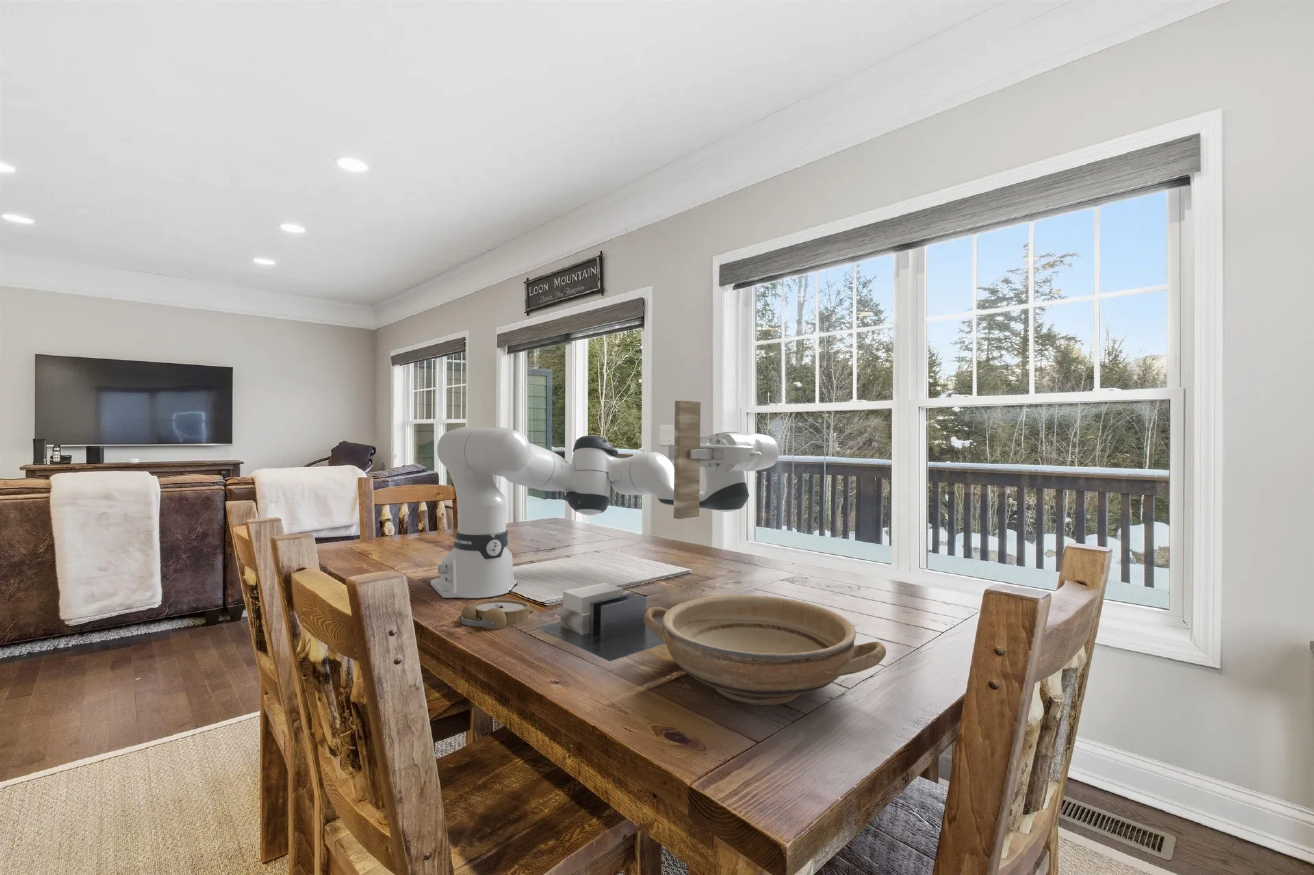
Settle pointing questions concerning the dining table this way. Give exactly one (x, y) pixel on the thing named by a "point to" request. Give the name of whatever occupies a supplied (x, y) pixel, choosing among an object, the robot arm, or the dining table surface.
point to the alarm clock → (495, 613)
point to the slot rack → (612, 628)
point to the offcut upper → (588, 596)
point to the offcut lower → (575, 621)
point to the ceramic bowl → (761, 645)
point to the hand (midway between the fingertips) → (684, 453)
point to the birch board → (686, 459)
